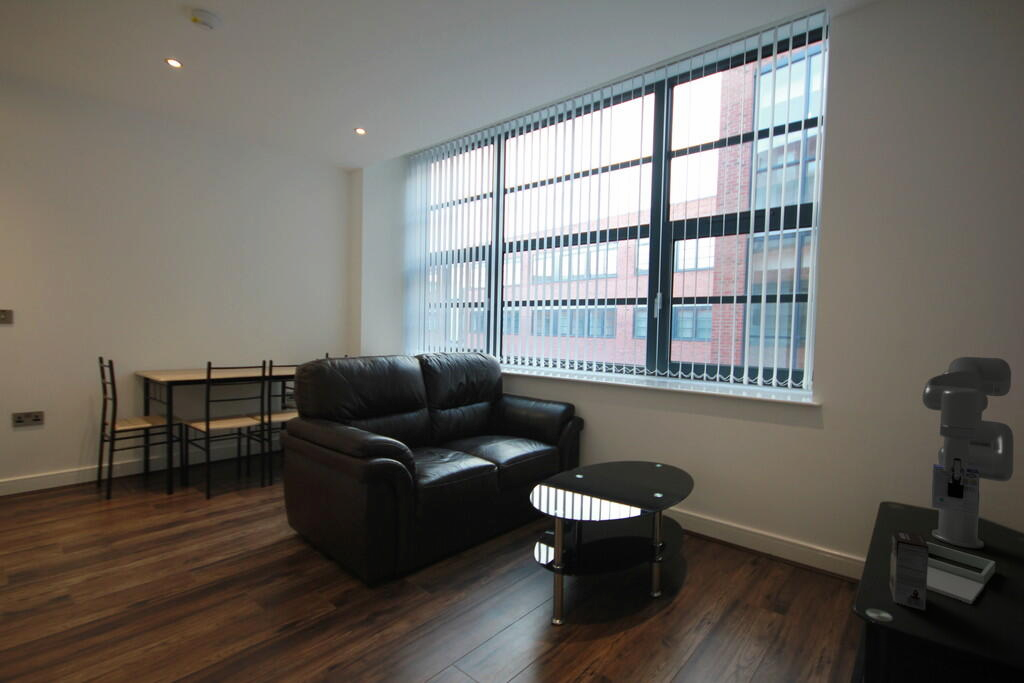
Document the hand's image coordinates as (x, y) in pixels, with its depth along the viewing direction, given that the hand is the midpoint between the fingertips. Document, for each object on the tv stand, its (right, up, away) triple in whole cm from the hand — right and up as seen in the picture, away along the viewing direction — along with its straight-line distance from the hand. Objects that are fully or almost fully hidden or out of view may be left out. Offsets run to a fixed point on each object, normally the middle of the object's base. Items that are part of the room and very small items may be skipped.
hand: (954, 494), depth 137 cm
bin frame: (0, -22, +1) cm, 22 cm away
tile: (-11, -22, -8) cm, 26 cm away
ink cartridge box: (0, -5, 0) cm, 5 cm away
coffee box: (-27, -22, -16) cm, 38 cm away
